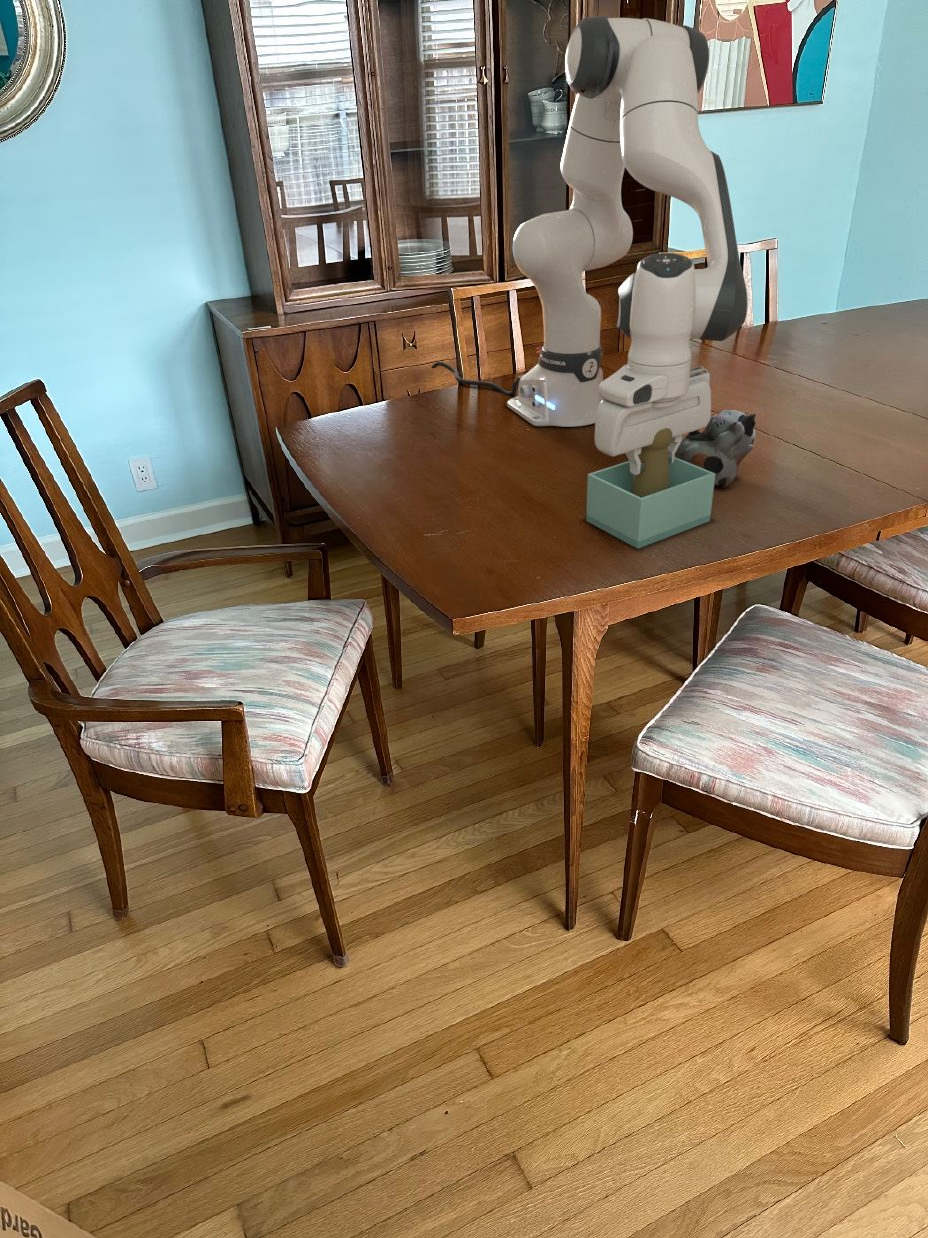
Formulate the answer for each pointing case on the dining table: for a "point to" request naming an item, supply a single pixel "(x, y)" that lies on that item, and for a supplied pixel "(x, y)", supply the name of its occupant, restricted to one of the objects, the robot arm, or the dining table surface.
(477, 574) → the dining table surface
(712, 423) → the lucky cat figurine
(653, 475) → the cork
